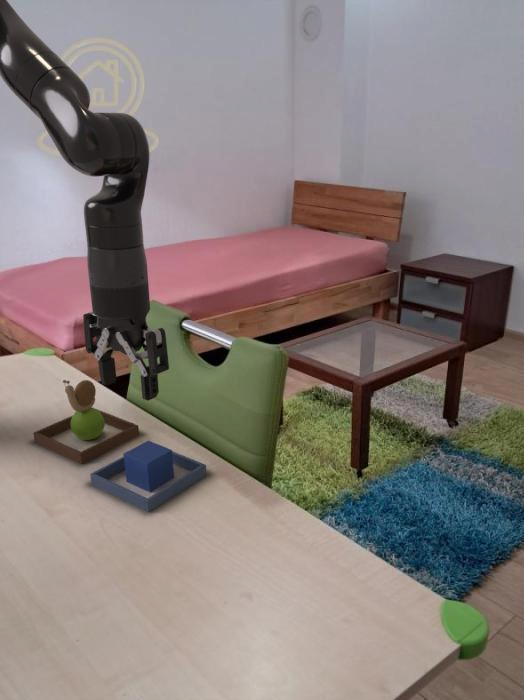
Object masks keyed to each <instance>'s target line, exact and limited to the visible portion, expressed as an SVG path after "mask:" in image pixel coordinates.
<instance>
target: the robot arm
mask: <svg viewBox="0 0 524 700" xmlns="http://www.w3.org/2000/svg"><path fill="white" fill-rule="evenodd" d="M0 77H1V79H2V80H3V82H4V83H5V85H6V86H7V87H8V88H9V89H10V90H11V92H12V93H13V94H14V95H15V96H16V97H17V98H18V99H19V100H20V101H21V102H22V103H23V104H24V105H25V106H26V107H27V108H28V109H29V110H30V111H31V112H32V113H33V114H34V115H35V116H36V117H38V119H40V121H41V123H42V124H43V126H44V128H45V130H46V132H47V134H48V136H49V137H50V139H51V141H52V142H53V144H54V145H55V147H56V149H57V151H58V153H59V154H60V156H61V157H62V159H63V160H64V162H66V163H67V164H68V165H69V167H71V168H72V169H74V170H75V171H76V172H79V173H80V174H82V175H85V176H87V177H94V178H96V177H97V178H98V177H103V180H102V184H101V185H102V186H101V189H100V190H99V192H97V194H94V195H92V196H90V197H89V198H88V199H87V200H86V201H85V202H84V205H83V219H84V220H83V221H84V228H85V238H86V248H87V251H86V252H87V253H86V255H87V256H86V264H87V274H88V282H89V283H88V284H89V291H90V301H91V308H92V311H90V312H86V313H83V315H82V321H83V331H84V345H85V351H86V353H88V354H93V355H94V359H95V360H96V361H98V362H97V363H98V371H99V377H100V382H101V384H102V385H103V386H110V385H111V384H114V383H116V382H117V370H116V360H115V357H113V356H114V354H115V352H121V353H122V354H123V355H126V356H127V357H128V359H129V360H130V362H131V363H133V364H135V365H136V367H137V369H138V371H139V373H140V383H141V384H140V385H141V386H140V387H141V397H142V399H143V400H145V401H151V400H153V399H155V398H157V397H158V395H159V392H160V390H159V389H160V388H159V374H161V373H164V372H166V371H169V369H170V363H169V354H168V345H167V344H168V343H167V335H166V331H165V329H164V328H163V327H159V328H156V329H153V328H149V325H148V323H147V316H148V314H149V312H150V311H151V301H150V300H151V299H150V285H149V272H148V260H147V255H146V251H145V245H144V231H143V218H142V207H143V204H144V203H143V202H144V198H145V195H146V194H145V193H146V187H147V180H148V179H147V178H148V173H149V166H150V155H151V154H150V153H151V151H150V145H149V140H148V137H147V133H146V131H145V129H144V127H143V126H142V124H141V123H140V121H139V120H138V119H137V118H135V117H134V116H133V115H130V114H128V113H124V112H94V111H92V110H90V105H91V94H90V91H89V88H88V87H87V84H85V82H84V81H83V80H82V79H81V77H80V76H79V75H78V74H77V73H76V72H75V71H74V70H73V69H72V68H71V67H70V66H69V65H68V64H67V63H66V62H65V61H64V60H63V59H62V58H61V57H59V55H58V54H57V53H55V52H54V51H53V50H52V49H51V48H50V47H49V46H48V45H47V44H46V43H45V42H44V41H43V40H42V39H41V38H40V37H39V36H38V35H37V34H36V33H35V32H34V31H33V30H32V29H31V28H30V26H29V25H28V24H27V23H26V22H25V21H24V20H23V19H22V18H21V16H20V15H19V14H18V12H16V10H15V9H14V8H13V6H12V5H11V4H10V2H9V1H8V0H0ZM94 338H95V339H96V340H95V341H96V342H94ZM141 349H143V351H142V352H139V351H140V350H141ZM158 359H159V362H158ZM144 360H146V362H147V363H148V365H147V364H146V363H145V361H144Z"/></svg>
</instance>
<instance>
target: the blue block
mask: <svg viewBox="0 0 524 700" xmlns="http://www.w3.org/2000/svg"><path fill="white" fill-rule="evenodd" d="M172 451H173V449H171V448H169V447H166V446H164V445H160V444H158V443H156V442H153V441H151V440H146V441H144V442H142V443H141V444H139V445H136V446H135V447H133V448H131V449H130V450H128V451H125V452H123V454H122V455H123V456H124V464H125V469H124V472H125V480H126V481H125V482H126V483H128V484H130V485H132V486H135V487H137V488H139V489H141V490H143V491H146V492H148V493H152V492H153V491H155V490H157V489H158V488H161V487H162V486H163V485H165V484H167V483H168V482H170V481H172V480H174V479H175V471H174V464H173V457H172Z"/></svg>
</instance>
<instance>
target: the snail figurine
mask: <svg viewBox="0 0 524 700" xmlns="http://www.w3.org/2000/svg"><path fill="white" fill-rule="evenodd" d="M62 383H63V384H66V385H67V386H66V385H64V387H65V388H64V392H65V394H66V396H67V401H68V402H69V405H70V407H71V408H72V409H73V410H74V413H73V415H71V416H72V419H71V428H70V430H71V431H72V433H73V435H74V436H76V437H77V438H79V439H80V440H83V441H91V440H94V439H96V438H98V437H100V435H101V434H103V432H104V430H105V425H106V423H105V422H104V418H103V416H102V414H101V413H100V412H99V411H97V410H98V409H97V408H95V409H93V408H94V404H95V402H96V391H97V390H96V385H95V384H94V383H93V382H92V381H91V380H88V379H83V380H80V381H79V382H78V383H77V384H76V386H75V387H74V386H72V385H70V383H71V381H70V380H66V379H63V380H62ZM91 407H92V408H91ZM96 409H97V410H96Z"/></svg>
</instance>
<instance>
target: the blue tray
mask: <svg viewBox="0 0 524 700" xmlns="http://www.w3.org/2000/svg"><path fill="white" fill-rule="evenodd" d="M172 457H173V465H175V466H177V467H180V468H182V469H185V470H187V471H190V472H187V473H186V474H185V475H183V476H181V477H179V478H178V479H177V480H175V481H173V482H172V483H170V484H168V485H167V486H165V487H164V488H161V489H160V490H159V491H157V492H155V493H154V494H152V495H150V496H149V497H145V496H143V495H141V494H140V493H137V492H134V491H133V490H132V489H131V490H130V489H128V488H126V487H124V486H122V485H120V484H118V483H116V482H113V481H111V480H109V478H111V477H113V476H115V475H117V474H119V473H120V472H122V471H125V464H124V455H123V456H121V457H120V458H118V459H116V460H114V461H112V462H110V463H108V464H106V465H104V466H103V467H101V468H99V469H97V470H94V471H93V472H92V473H90V474H89V477H90V483H91V486H93V487H95V488H97V489H99V490H101V491H103V492H106V493H108V494H109V495H111V496H114V497H115V498H118V499H120V500H122V501H124V502H126V503H128V504H130V505H133V506H135V507H137V508H139V509H140V510H143V511H145V512H147V513H150V512H152V511H153V510H154V509H156V508H158V507H159V506H161V505H163V504H164V503H165V502H167V501H168V500H170V499H172V498H174V497H175V496H176V495H178V494H179V493H181V492H183V491H184V490H185V489H187V488H189V487H191V486H192V485H194V484H195V483H197V482H199V481H200V480H202V479H203V478H205V477H206V476H207V464H205V463H202V462H200V461H198V460H195V459H193V458H190V457H188V456H186V455H183V454H180V453H178V452H175V451H173V450H172Z"/></svg>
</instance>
